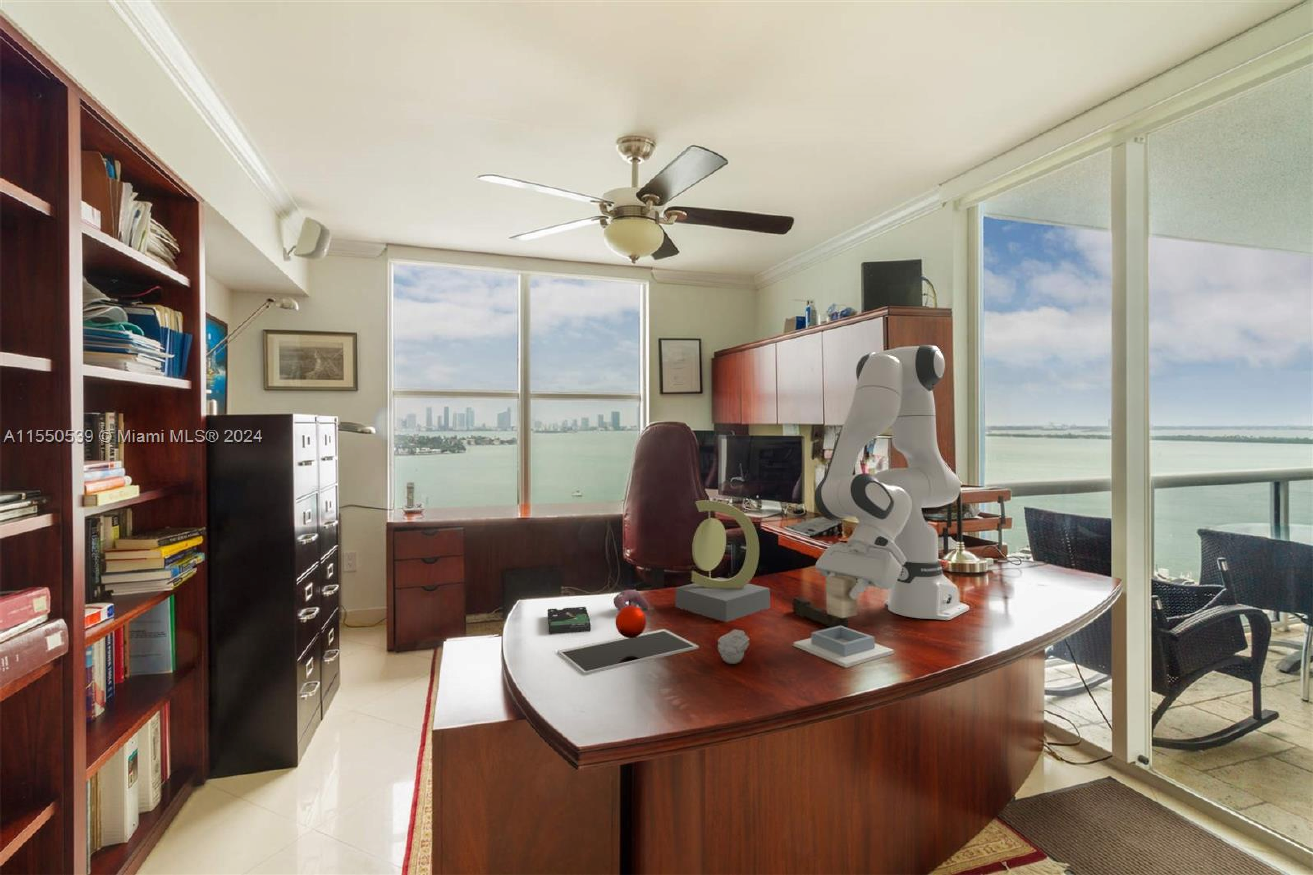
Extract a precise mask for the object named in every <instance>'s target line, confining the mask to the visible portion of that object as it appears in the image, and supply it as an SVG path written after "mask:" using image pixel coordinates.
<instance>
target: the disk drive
mask: <svg viewBox="0 0 1313 875" xmlns="http://www.w3.org/2000/svg"><path fill="white" fill-rule="evenodd" d="M547 625H548V634H549V635H560V634H561V635H562V634H574V633H575V634H577V633H586V632H587V633H588V632H589V633H590V632H591V629H592V628H591V626H592V625H591V620H590V617H589V613H588V609H587V607H586V606H577V607H564V608H562V609H557V608H548V609H547Z"/></svg>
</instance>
